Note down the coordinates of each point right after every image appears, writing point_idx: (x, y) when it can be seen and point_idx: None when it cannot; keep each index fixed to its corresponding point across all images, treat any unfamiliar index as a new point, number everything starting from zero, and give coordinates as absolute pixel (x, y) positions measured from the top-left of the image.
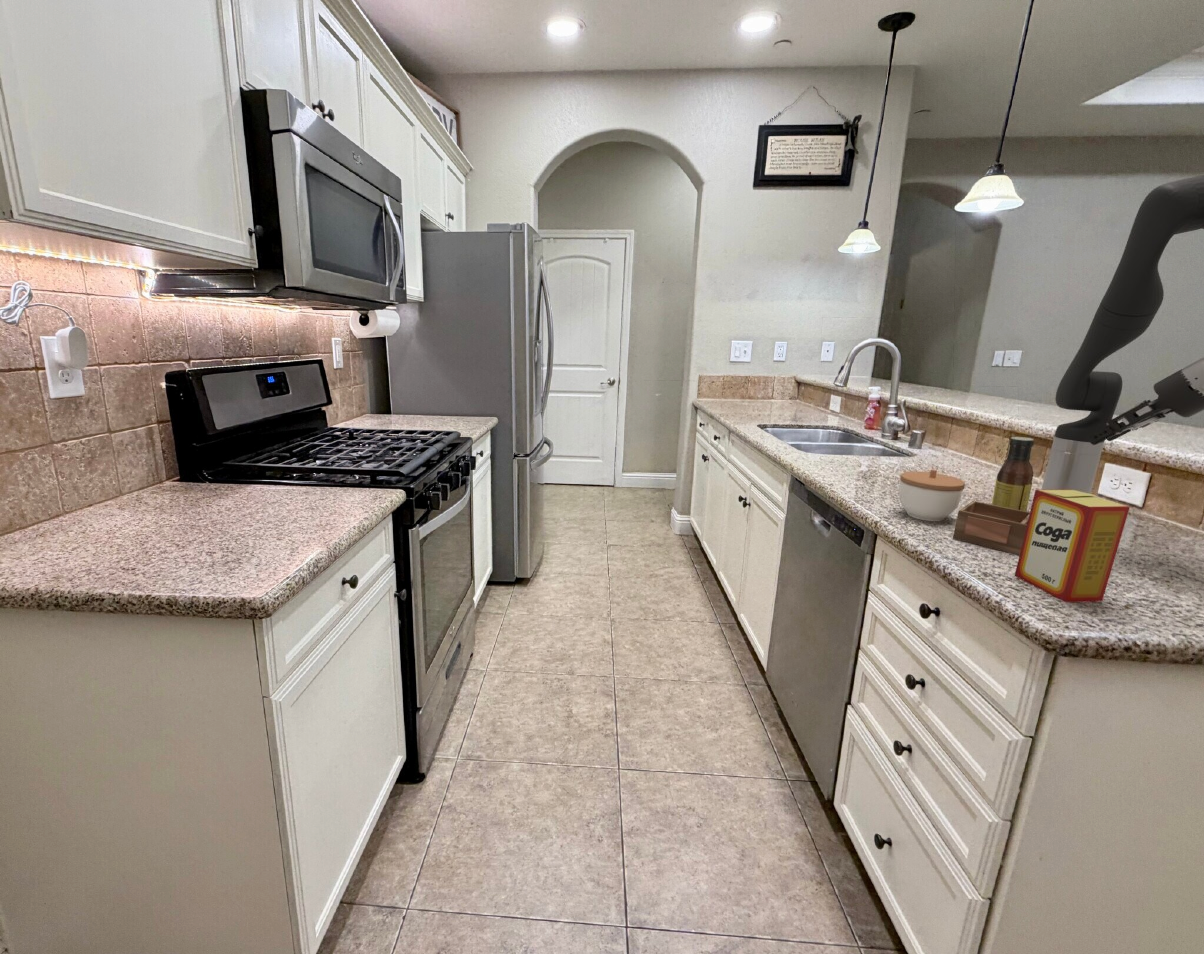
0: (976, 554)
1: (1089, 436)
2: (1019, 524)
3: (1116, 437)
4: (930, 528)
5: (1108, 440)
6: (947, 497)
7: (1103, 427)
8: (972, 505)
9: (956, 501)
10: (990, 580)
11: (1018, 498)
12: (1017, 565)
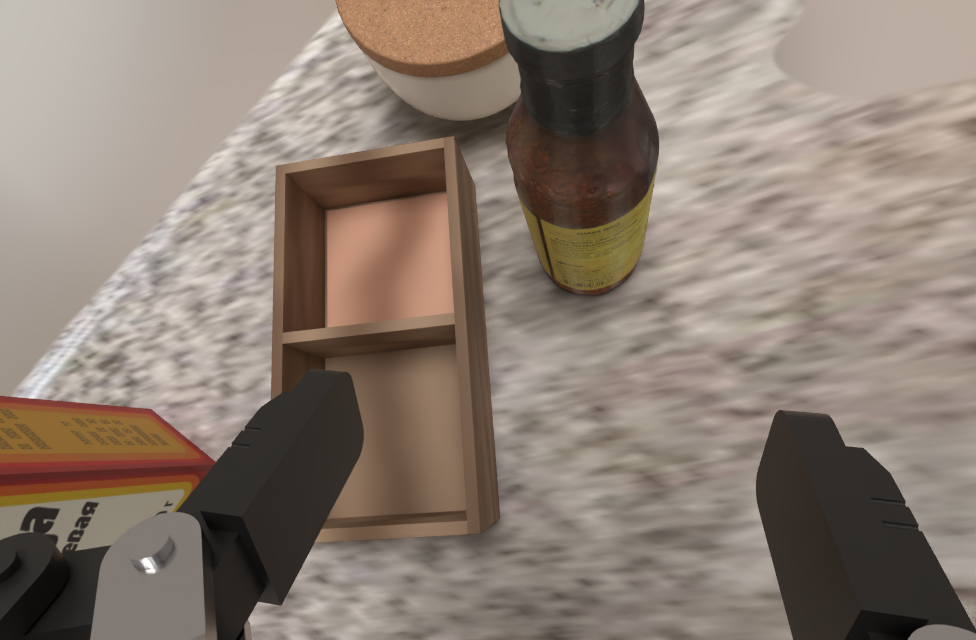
0: (238, 297)
1: (277, 397)
2: (274, 334)
3: (773, 547)
4: (364, 137)
5: (756, 481)
6: (390, 79)
7: (224, 486)
8: (411, 156)
9: (437, 103)
10: (81, 382)
11: (535, 234)
12: (126, 408)
